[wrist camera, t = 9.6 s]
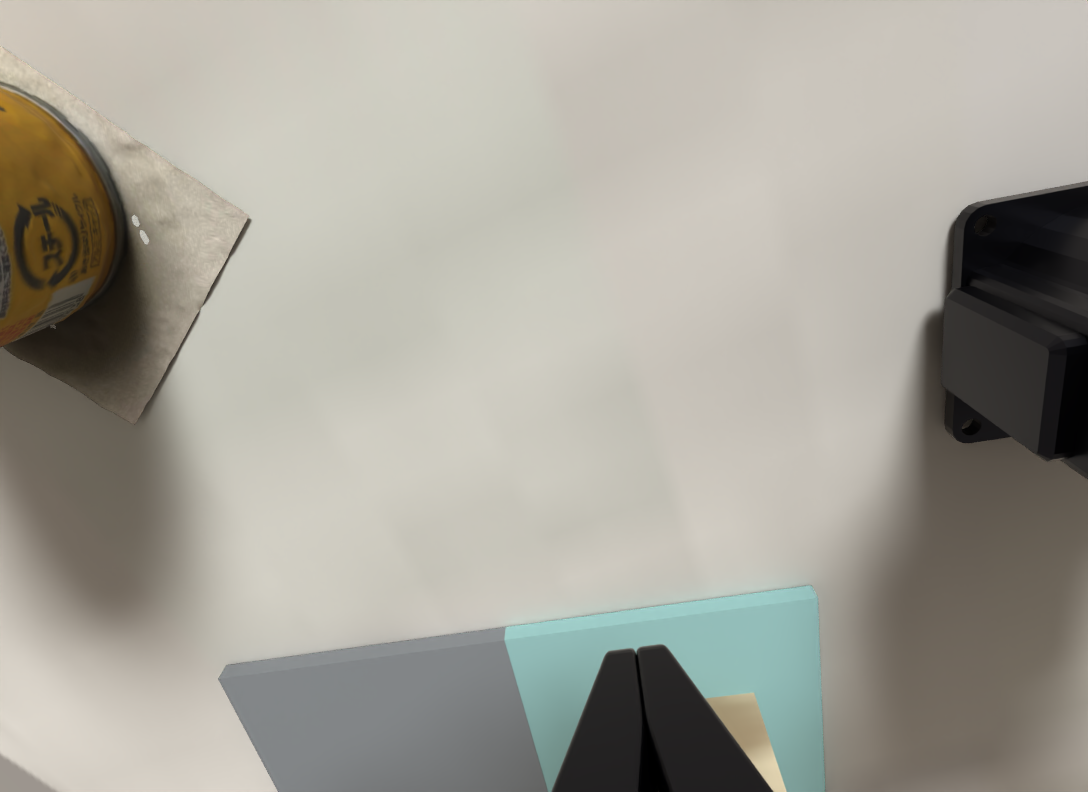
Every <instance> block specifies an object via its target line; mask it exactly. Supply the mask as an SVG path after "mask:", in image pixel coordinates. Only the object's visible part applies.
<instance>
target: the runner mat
mask: <svg viewBox="0 0 1088 792" xmlns="http://www.w3.org/2000/svg"><path fill="white" fill-rule="evenodd" d="M657 644H663V645H665V646H666V647H668V649H669V650H670V651H671V653H672V654H673V655H674V657H675V658H676V659H677V661H678V662H679V664H680V665H681V666H682V668H683V669H684V670H685V672H686V673H687V674H688V676H689V677H690V679H691V680H692V681H693V683H694V684H695V685H696V687H697V688H698V689H699V691H700V692H701V693H702V695H703V696H704V698H713V697H721V696H729V695H738V694H746V693H754V694H755V697H756V700H757V703H758V706H759V709H760V712H761V715H762V718H763V721H764V724H765V727H766V731H767V734H768V737H769V740H770V743H771V746H772V749H773V752H774V755H775V758H776V761H777V764H778V767H779V770H780V773H781V776H782V779H783V782H784V785H785V788H786V791H787V792H825V773H824V746H823V720H822V694H821V668H820V642H819V615H818V597H817V595H816V593H815V591H814V589H813V588H812V586H811V585H810V586H802V587H795V588H788V589H781V590H773V591H766V592H759V593H751V594H744V595H737V596H729V597H722V598H715V599H707V600H700V601H693V602H685V603H678V604H671V605H663V606H656V607H649V608H641V609H634V610H627V611H619V612H612V613H605V614H597V615H590V616H583V617H576V618H568V619H561V620H554V621H546V622H539V623H532V624H524V625H517V626H510V627H502V628H495V629H488V630H480V631H473V632H466V633H458V634H451V635H444V636H436V637H429V638H422V639H414V640H407V641H400V642H392V643H385V644H378V645H371V646H363V647H356V648H349V649H341V650H334V651H327V652H319V653H312V654H305V655H297V656H290V657H283V658H275V659H268V660H261V661H253V662H246V663H239V664H231V665H226V667H225V668H224V670H223V672H222V673H221V675H220V677H219V678H218V680H219V681H220V683H221V685H222V687H223V689H224V691H225V693H226V695H227V696H228V698H229V700H230V702H231V704H232V706H233V708H234V710H235V712H236V713H237V715H238V717H239V719H240V721H241V723H242V725H243V727H244V728H245V730H246V732H247V734H248V736H249V738H250V740H251V742H252V744H253V745H254V747H255V749H256V751H257V753H258V755H259V757H260V759H261V760H262V762H263V764H264V766H265V768H266V770H267V772H268V774H269V775H270V777H271V779H272V781H273V783H274V785H275V787H276V789H277V791H278V792H551V791H552V788H553V786H554V783H555V780H556V778H557V775H558V773H559V770H560V768H561V765H562V763H563V760H564V757H565V755H566V752H567V750H568V747H569V745H570V742H571V740H572V737H573V735H574V732H575V729H576V727H577V724H578V722H579V719H580V717H581V714H582V712H583V709H584V706H585V704H586V701H587V699H588V696H589V694H590V691H591V689H592V686H593V683H594V681H595V678H596V676H597V673H598V671H599V668H600V666H601V663H602V660H603V658H604V656H605V654H606V653H607V652H608V651H611V650H619V649H626V648H632V649H634V650H635V651H637V649H638V648H639V647H642V646H649V645H657ZM636 655H637V654H636Z"/></svg>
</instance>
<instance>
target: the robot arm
mask: <svg viewBox="0 0 1088 792" xmlns="http://www.w3.org/2000/svg"><path fill="white" fill-rule="evenodd" d="M984 215H986V218H987V223H986V226H985V227H984V228H983V229H982V230H981V231H980V232H977V233H975V228H974V227H975V224H976V222H977V221H978V219H979V218H980V217H982V216H984ZM941 384H942V386H943V387H945V388H946V406H945V428H946V430H947V432H948V433H949V434H950V435H951V436H953V437H954V438H955V439H956V440H957V441H960V442H962V443H974V442H981V441H987V440H994V439H1000V438H1007V437H1013V438H1014V439H1015V440H1017V441H1018V442H1019V443H1021V444H1022V445H1024V446H1025V447H1026V448H1028V449H1029V450H1030V451H1032V452H1033V453H1034V454H1036V455H1037V456H1038V457H1040V458H1041V459H1043V460H1045V461H1048V462H1049V461H1055V460H1061V461H1062V462H1064V463H1065V464H1067V465H1068V466H1069V467H1071V468H1072V469H1074V470H1075V471H1076V472H1078V473H1079V474H1081V475H1082V476H1083V477H1085V478H1086V479H1088V181H1087V182H1082V183H1076V184H1071V185H1066V186H1060V187H1055V188H1050V189H1044V190H1039V191H1034V192H1029V193H1023V194H1018V195H1013V196H1007V197H1002V198H997V199H991V200H986V201H981V202H976V203H974V204H971V205H969V206H968V207H966V208H965V209H964V210H963V211H962V212H961V213H960V215H959V216H958V218H957V220H956V224H955V234H954V253H953V272H952V290H951V291H950V293H949V294H948V296H947V297H946V299H945V308H944V329H943V349H942V370H941ZM970 419H973V421H972V423H971V424H970V425H969V426H968V427H966V428H964V429H962V426H963V424H964V423H965V422H966V421H967V420H970ZM636 654H637V655H636ZM551 792H774V791H773V790H772V789H771V787H770V786H769V785H768V783H767V782H766V781H765V779H764V778H763V776H762V775H761V774H760V772H759V771H758V770H757V768H756V767H755V766H754V764H753V763H752V762H751V760H750V759H749V757H748V756H747V755H746V753H745V752H744V751H743V749H742V748H741V747H740V745H739V744H738V742H737V741H736V740H735V738H734V737H733V736H732V734H731V733H730V732H729V730H728V729H727V727H726V726H725V725H724V723H723V722H722V721H721V719H720V718H719V717H718V715H717V714H716V713H715V711H714V710H713V708H712V707H711V706H710V704H709V703H708V702H707V700H706V699H705V698H704V696H703V695H702V693H701V692H700V691H699V689H698V688H697V687H696V685H695V684H694V683H693V681H692V680H691V679H690V677H689V676H688V674H687V673H686V672H685V670H684V669H683V668H682V666H681V665H680V664H679V662H678V661H677V659H676V658H675V657H674V655H673V654H672V653H671V651H670V650H669V649H668V647H666V646H665V645H663V644H657V645H649V646H642V647H639V648H638V649H637V651H635V650H634V649H632V648H626V649H619V650H611V651H608V652H607V653H606V654H605V656H604V658H603V660H602V663H601V666H600V668H599V671H598V673H597V676H596V678H595V681H594V683H593V686H592V689H591V691H590V694H589V696H588V699H587V701H586V704H585V706H584V709H583V712H582V714H581V717H580V719H579V722H578V724H577V727H576V729H575V732H574V735H573V737H572V740H571V742H570V745H569V747H568V750H567V752H566V755H565V757H564V760H563V763H562V765H561V768H560V770H559V773H558V775H557V778H556V780H555V783H554V786H553V788H552V791H551Z"/></svg>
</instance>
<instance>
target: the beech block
mask: <svg viewBox="0 0 1088 792" xmlns="http://www.w3.org/2000/svg"><path fill="white" fill-rule="evenodd" d="M705 699H706V700H707V702H708V703H709V704H710V706H711V707H712V708H713V710H714V711H715V713H716V714H717V715H718V717H719V718H720V719H721V721H722V722H723V723H724V725H725V726H726V727H727V729H728V730H729V732H730V733H731V734H732V736H733V737H734V738H735V740H736V741H737V742H738V744H739V745H740V747H741V748H742V749H743V751H744V752H745V753H746V755H747V756H748V757H749V759H750V760H751V762H752V763H753V764H754V766H755V767H756V768H757V770H758V771H759V772H760V774H761V775H762V776H763V778H764V779H765V781H766V782H767V783H768V785H769V786H770V787H771V789H772V790H773V791H774V792H787V791H786V788H785V785H784V782H783V779H782V776H781V773H780V770H779V767H778V764H777V761H776V758H775V755H774V752H773V749H772V746H771V743H770V740H769V737H768V734H767V731H766V727H765V724H764V721H763V718H762V715H761V712H760V709H759V706H758V703H757V700H756V697H755V694H754V693H746V694H738V695H729V696H721V697H713V698H705Z"/></svg>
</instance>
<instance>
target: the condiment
mask: <svg viewBox="0 0 1088 792" xmlns="http://www.w3.org/2000/svg"><path fill="white" fill-rule="evenodd" d="M134 214H135V215H136V216H137V217H138V220H139V223H140V225H139V227H136V226H135V225H133V223H132V219H131V217H132V216H133V215H134ZM248 217H249V215H247V214H246V213H244V212H243V211H241V210H240V209H238V208H237V207H236V206H234V205H233V204H231V203H229V202H228V201H226V200H224V199H223V198H221V197H220V196H218V195H217V194H215V193H214V192H212V191H211V190H210V189H208V188H207V187H206V186H204V185H203V184H202V183H200V182H199V181H197V180H196V179H194V178H193V177H191V176H190V175H188V174H186V173H184V172H183V171H181V170H179V169H178V168H176V167H175V166H173V165H172V164H171V163H169V162H168V161H167V160H165V159H164V158H162V157H161V156H159V155H158V154H156V153H155V152H154V151H152V150H151V149H150V148H148V147H147V146H145V145H143V144H142V143H140V142H138V141H137V140H135V139H134V138H132V137H131V136H130V135H128V134H127V133H126V132H125V131H123V130H122V129H120V128H119V127H117V126H116V125H114V124H113V123H111V122H110V121H108V120H107V119H106V118H105V117H103V116H102V115H100V114H99V113H97V112H96V111H95V110H93V109H92V108H91V107H89V106H88V105H86V104H85V103H83V102H82V101H81V100H79V99H78V98H76V97H75V96H74V95H72V94H71V93H69V92H68V91H66V90H65V89H63V88H62V87H60V86H59V85H57V84H56V83H54V82H53V81H51V80H50V79H48V78H47V77H45V76H44V75H42V74H40V73H39V72H38V71H36V70H35V69H33V68H32V67H30V66H29V65H28V64H26V63H25V62H23V61H22V60H20V59H19V58H17V57H16V56H14V55H13V54H11V53H10V52H8V51H7V50H6V49H4V48H3V47H1V46H0V347H2V346H3V347H4V348H5V349H6V350H7V351H8V352H10V353H11V354H13V355H14V356H16V357H17V358H19V359H21V360H24V361H26V362H28V363H30V364H32V365H34V366H36V367H38V368H40V369H41V370H43V371H45V372H46V373H47V374H49V375H50V376H53V377H55V378H57V379H59V380H61V381H63V382H65V383H66V384H68V385H69V386H71V387H73V388H75V389H76V390H78V391H80V392H81V393H83V394H84V395H85V396H87V397H88V398H89V399H91V400H92V401H94V402H95V403H97V404H98V405H99V406H101V407H102V408H104V409H106V410H109V411H111V412H113V413H115V414H116V415H118V416H120V417H122V418H123V419H125V420H127V421H128V422H130V423H132V424H134V425H135V423H136V422H137V420H138V419H139V417H140V415H141V413H142V411H143V410H144V408H145V405H146V403H147V402H148V401H149V400H150V398H151V397H152V395H153V393H154V391H155V389H156V387H157V386H158V384H159V382H160V380H161V379H162V377H163V375H164V373H165V371H166V369H167V367H168V365H169V363H170V362H171V360H172V359H173V357H174V356H175V354H176V352H177V350H178V348H179V346H180V344H181V342H182V341H183V339H184V337H185V335H186V333H187V331H188V329H189V328H190V326H191V324H192V322H193V320H194V318H195V317H196V315H197V313H198V312H199V311H200V308H201V306H203V303H204V300H205V298H206V296H207V294H208V292H209V290H210V288H211V286H212V284H213V282H214V280H215V278H216V277H217V275H218V273H219V272H220V270H221V268H222V267H223V265H224V263H225V261H226V259H227V258H228V255H229V253H230V251H231V249H232V247H233V245H234V243H235V241H236V239H237V237H238V235H239V234H240V232H241V230H242V228H243V226H244V224H245V223H246V221H247V219H248ZM140 230H144V231H145V233H146V234H147V236H148V238H149V240H150V241H149V243H148V245H146V244H144V242H143V240H142V239H141V237H140ZM53 324H55V326H56V329H54V328H50V325H53Z"/></svg>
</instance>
